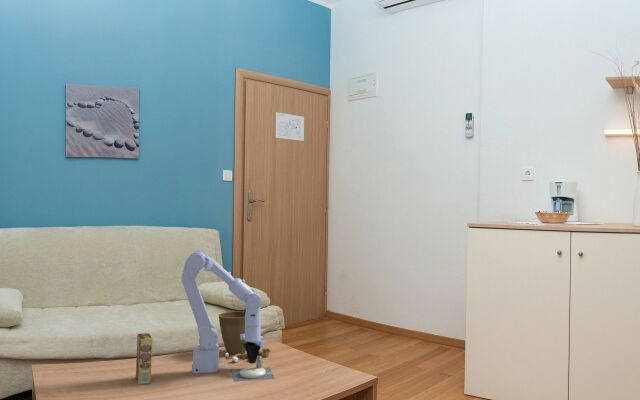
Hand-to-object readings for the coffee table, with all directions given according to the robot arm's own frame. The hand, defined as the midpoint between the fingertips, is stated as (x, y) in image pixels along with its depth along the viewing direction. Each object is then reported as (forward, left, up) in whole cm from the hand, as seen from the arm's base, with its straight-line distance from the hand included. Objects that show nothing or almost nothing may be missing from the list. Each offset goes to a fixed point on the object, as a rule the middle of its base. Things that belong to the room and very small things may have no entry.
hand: (252, 362), depth 185 cm
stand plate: (-1, -7, -3) cm, 7 cm away
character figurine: (+1, +14, -3) cm, 15 cm away
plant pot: (-4, +26, -3) cm, 26 cm away
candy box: (-38, -2, -3) cm, 38 cm away
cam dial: (-1, -7, -2) cm, 8 cm away
